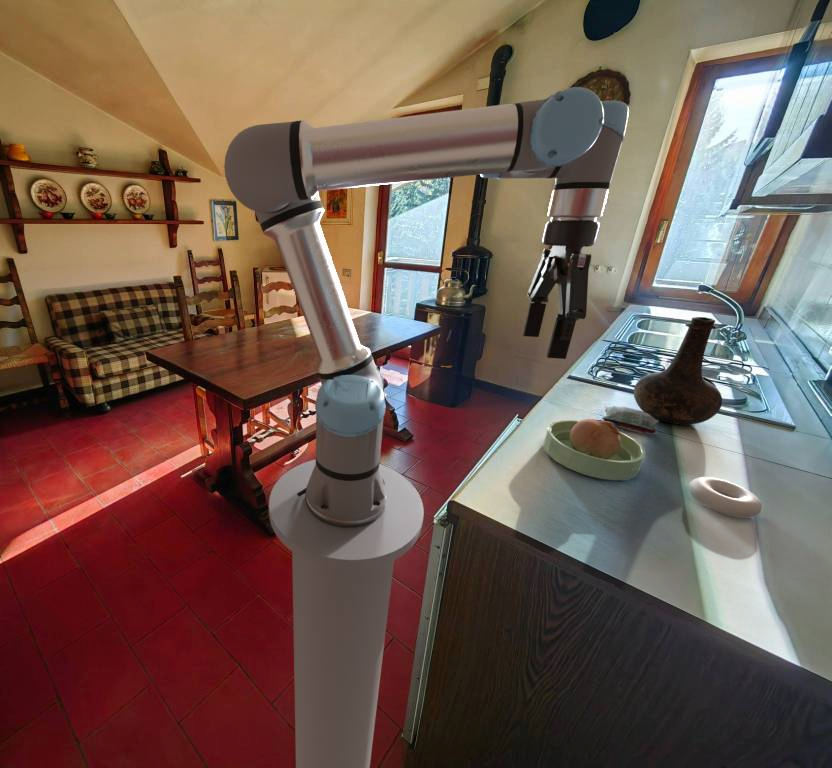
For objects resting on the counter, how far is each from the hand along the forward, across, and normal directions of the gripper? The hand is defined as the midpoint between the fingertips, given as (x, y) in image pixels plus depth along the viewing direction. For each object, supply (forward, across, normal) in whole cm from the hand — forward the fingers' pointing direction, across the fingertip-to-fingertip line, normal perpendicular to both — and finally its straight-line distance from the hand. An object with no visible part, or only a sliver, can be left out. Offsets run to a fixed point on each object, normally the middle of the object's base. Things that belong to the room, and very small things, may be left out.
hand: (542, 346), depth 71 cm
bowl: (+29, +11, -20) cm, 37 cm away
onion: (+28, +11, -20) cm, 36 cm away
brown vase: (+29, +39, -51) cm, 70 cm away
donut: (+29, -1, -38) cm, 48 cm away
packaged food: (+29, +30, -37) cm, 56 cm away
